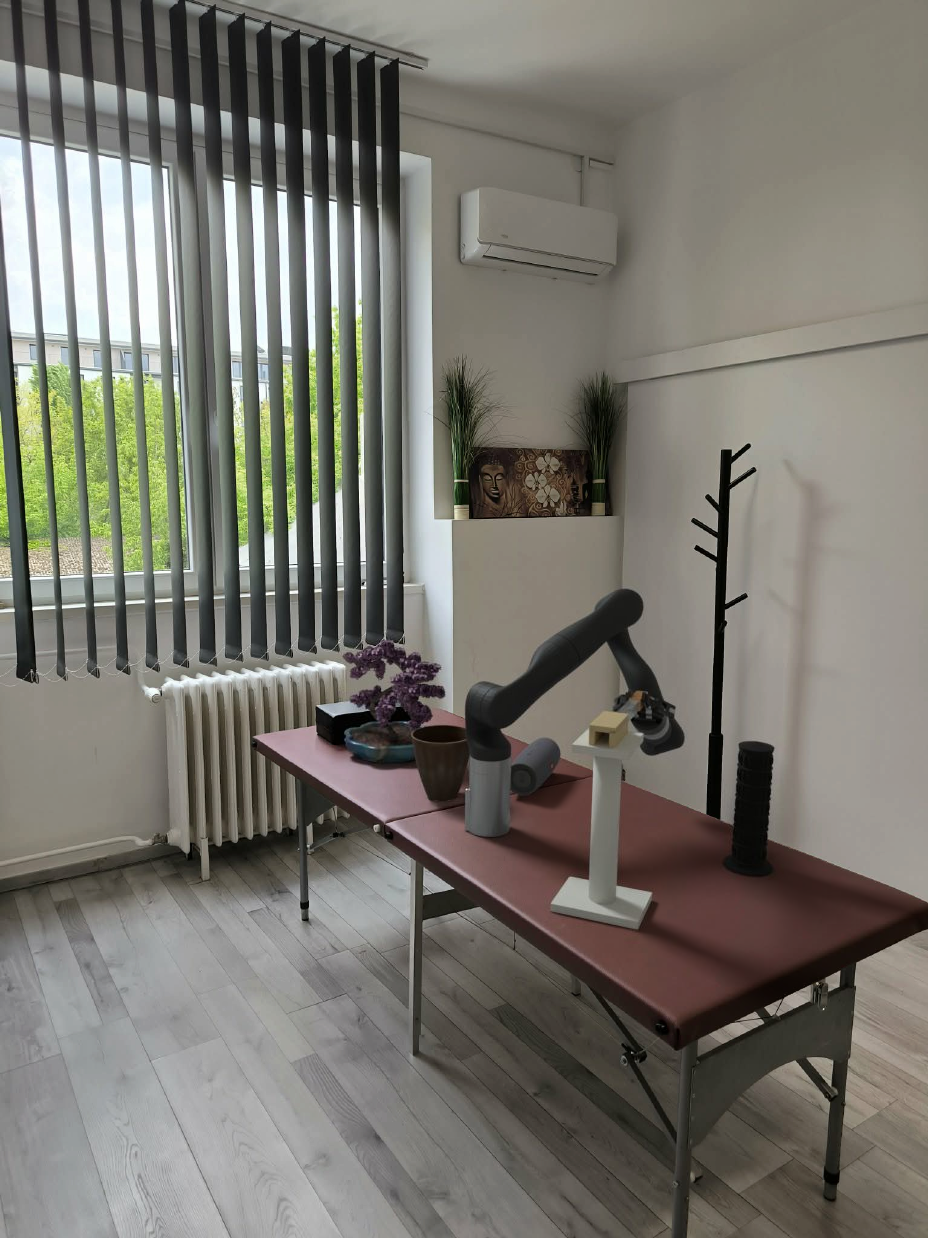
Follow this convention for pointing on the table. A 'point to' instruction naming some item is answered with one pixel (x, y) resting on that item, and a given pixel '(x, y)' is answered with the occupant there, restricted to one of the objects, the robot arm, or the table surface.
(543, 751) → the bluetooth speaker
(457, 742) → the plant pot
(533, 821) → the table surface
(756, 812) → the handle grip
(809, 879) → the table surface
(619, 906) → the stand
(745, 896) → the table surface
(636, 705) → the grey orange square rod
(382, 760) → the bonsai tree
